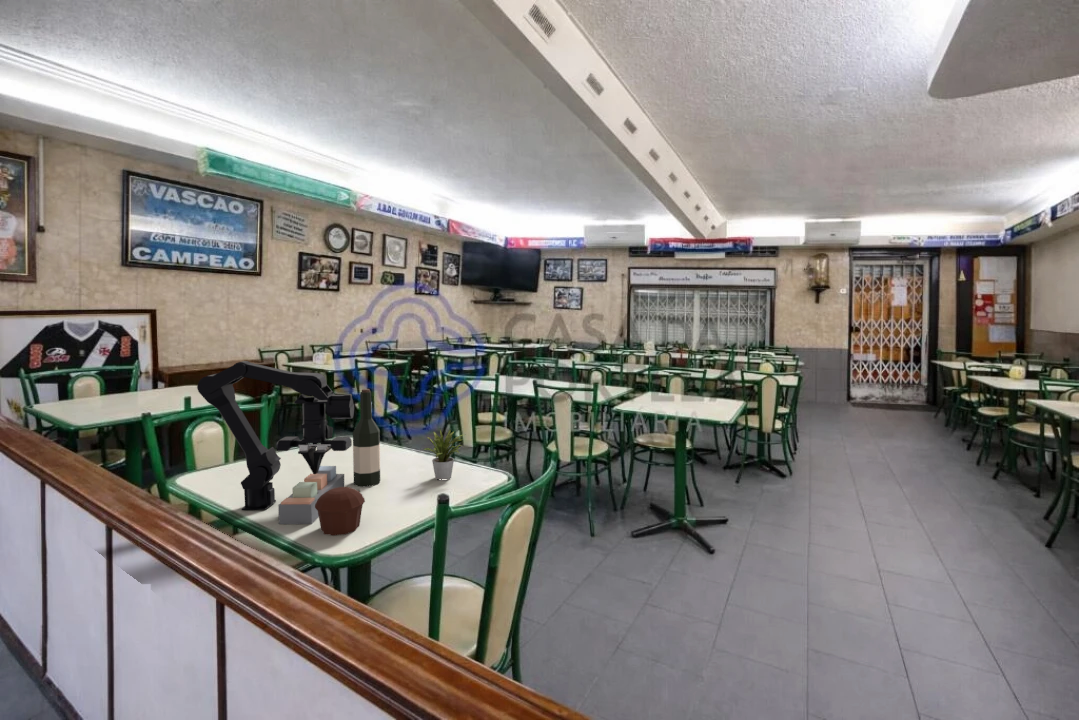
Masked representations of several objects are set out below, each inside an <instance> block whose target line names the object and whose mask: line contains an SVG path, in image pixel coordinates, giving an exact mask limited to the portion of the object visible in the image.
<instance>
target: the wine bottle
mask: <svg viewBox="0 0 1079 720" xmlns="http://www.w3.org/2000/svg"><path fill="white" fill-rule="evenodd" d="M359 396H360V397H359V398H360V400H359V402H360V403H359V404H360V405H359V406H360V409H359V410H360V419H359V421H358V423H357V425H356V426H355V428H354V430H353V431H352V458H353V459H352V460H353V461H352V462H353V463H352V465H353V485H354V486H357V487H359V488H362V487H363V486H365V487H373V486H377V485H378V484H380V482H381V441H380V440H381V439H380V438H381V436H380V435H381V430H380V428H379V426H378V425H377V423H376V422H375V421H374V419H373V415H372V391H371V390H370V388H362V389H361V391H360V393H359ZM372 485H373V486H372ZM363 488H364V487H363Z"/></svg>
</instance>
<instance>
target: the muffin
mask: <svg viewBox="0 0 1079 720" xmlns="http://www.w3.org/2000/svg"><path fill="white" fill-rule="evenodd" d="M365 502H366V501H365V497H364V496H363V494H362V493H361V492H360V491H359V490H358V489H355V488H352V487H349V486H345V487H338V488H333V489H330V490H329V491H327V492H326V493H324V494H323V495H321V496H320V497H319V499H318V500H317V502H316V504H315V508H316V510H317V511H318V515H319V517H318V519H319V525H320V531H321V530H322V531H321V532H323V535H326V536H327V535H329V536H333V537H334V536H341V535H343V536H344V535H347V534H349V533H352V532H355V531H356V530H357V529H358V528H359V527H360V523H361V517H362V511H363V505H364V503H365Z"/></svg>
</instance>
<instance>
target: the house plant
mask: <svg viewBox="0 0 1079 720" xmlns="http://www.w3.org/2000/svg"><path fill="white" fill-rule="evenodd" d="M447 432H448V433H447V434H446V436H445V438H444V434H443V433H442V430H441V429H439V435H440V436H439V435H438V434H437V433H436V432H435V431H433V436H434V437H433V438H432V439H433V440H432V439H431V437H428V436H427V435H426V438H427V439H428V440H429V441H430V442H431V443H432V444H433V446H434V447H433V448H429V447H426V448H424V449H423V450H425V451H430V452H433V453H434V455H435V458H432V459H431V461H432V466H433V468H432V469H433V471H434V478H436V479H441V480H442V479H449V480H450V478H451V479H452V476H453V475H452V474H453V468H454V461H455V459H454V457H451V455H453V454H454V453H455V452H456V453H458V454H459V455H461V453H460V451H459V450H460V448H459V447H460V446H461V447H462V444H459V445H456V446H454V444H455V443H457V442H460V441H461V439H462V438H463V437H462V436H465V435H466V434H465V433H464V434H461V435H459V436H456V437H455V438H453V434H454V432H455V431H452V432H451V429H449V430H448V431H447ZM436 479H435V480H436ZM441 480H440V481H441Z"/></svg>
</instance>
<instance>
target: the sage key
mask: <svg viewBox="0 0 1079 720" xmlns="http://www.w3.org/2000/svg"><path fill="white" fill-rule="evenodd" d="M292 494H293V498H313V497H314V496H316V495H317V482H304V481H300V482H298V483H297V484H295V485H294V486H292Z"/></svg>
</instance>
